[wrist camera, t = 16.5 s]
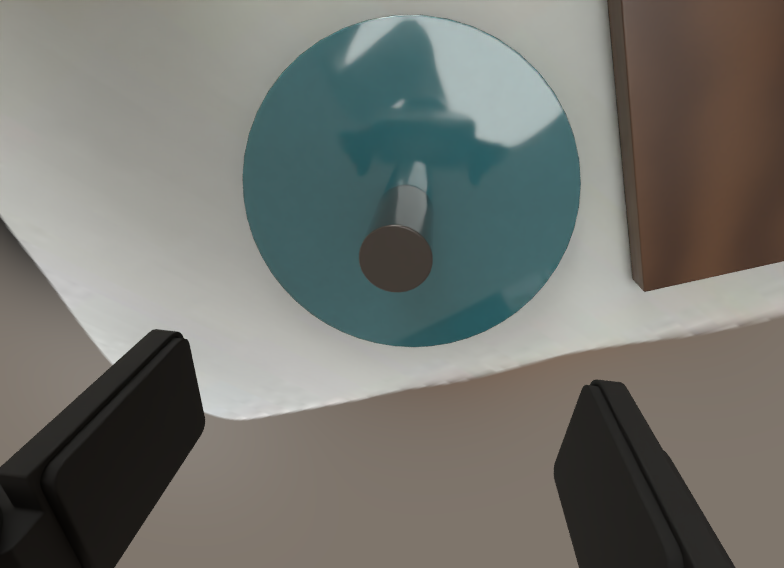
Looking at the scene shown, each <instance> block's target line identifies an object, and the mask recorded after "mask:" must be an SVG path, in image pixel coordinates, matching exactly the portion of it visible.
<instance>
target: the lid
mask: <svg viewBox="0 0 784 568" xmlns="http://www.w3.org/2000/svg"><path fill="white" fill-rule="evenodd" d="M580 186H581V180H580V164H579V157H578V152H577V147H576V142H575V138H574V135H573V132H572V129H571V127H570V124H569V121H568V118H567V116H566V113H565V111H564V110H563V108H562V106H561V104H560V102H559V101H558V99H557V97H556V95H555V93H554V92H553V90H552V89H551V88H550V86H549V85H548V84H547V82H546V81H545V80H544V79H543V77H542V76H541V75H540V73H539V72H538V71H537V70H536V69H535V68H534V67H533V66H532V65H531V64H530V63H529V62H528V61H527V60H526V59H524V58H523V57H522V56H521V55H520V54H519V53H518V52H516V51H515V50H513V49H512V48H511V47H509V46H508V45H506V44H505V43H503V42H502V41H501V40H499V39H498V38H496V37H494V36H492V35H490V34H488V33H485V32H483V31H481V30H479V29H477V28H475V27H473V26H470V25H466V24H463V23H460V22H457V21H453V20H450V19H446V18H439V17H432V16H425V15H393V16H388V17H382V18H376V19H370V20H366V21H363V22H360V23H357V24H354V25H351V26H348V27H345V28H343V29H341V30H339V31H337V32H335V33H333V34H331V35H329V36H327V37H325V38H324V39H322V40H320V41H319V42H317V43H316V44H314V45H313V46H312V47H310V48H309V49H308V50H306V51H305V52H303V53H302V54H301V55H300V56H299V57H298V58H297V59H296V60H295V61H294V62H293V63H292V64H291V65H289V66H288V67H287V68H286V69H285V70H284V71H283V72H282V74H281V75H280V76H279V78H278V79H277V81H276V82H275V83H274V85H273V86H272V87H271V89H270V90H269V91H268V93H267V95H266V97H265V98H264V100H263V102H262V104H261V106H260V108H259V110H258V111H257V114H256V116H255V119H254V122H253V125H252V127H251V130H250V133H249V137H248V141H247V146H246V150H245V155H244V166H243V195H244V203H245V209H246V214H247V219H248V222H249V226H250V229H251V232H252V235H253V238H254V241H255V243H256V245H257V247H258V249H259V252H260V254H261V256H262V258H263V259H264V261H265V263H266V264H267V266H268V268H269V269H270V271H271V273H272V274H273V275H274V277H275V278H276V279H277V281H278V282H279V283H280V284H281V286H282V287H283V288H284V289H285V290H286V291H287V292H288V293H289V294H290V295H291V296H292V298H293V299H294V300H295V301H296V302H298V303H299V304H300V305H301V306H302V307H304V308H305V309H306V310H307V311H308V312H310V313H311V314H312V315H314V316H315V317H317V318H318V319H320V320H321V321H323V322H325V323H326V324H328V325H330V326H332V327H334V328H336V329H338V330H340V331H342V332H344V333H346V334H349V335H352V336H354V337H357V338H359V339H363V340H367V341H370V342H374V343H379V344H385V345H391V346H402V347H424V346H435V345H441V344H448V343H452V342H456V341H459V340H463V339H467V338H469V337H472V336H474V335H477V334H479V333H482V332H484V331H486V330H488V329H490V328H492V327H494V326H496V325H498V324H499V323H501V322H503V321H504V320H506V319H507V318H509V317H510V316H512V315H513V314H514V313H516V312H517V311H518V310H520V309H521V308H522V307H523V306H524V305H525V304H526V303H528V302H529V301H530V300H531V299H532V298H533V297H534V296H535V295H536V294H537V292H538V291H539V290H540V289H541V288H542V287H543V286H544V285H545V283H546V282H547V281H548V279H549V278H550V276H551V275H552V273H553V272H554V270H555V269H556V268H557V266H558V264H559V262H560V260H561V258H562V256H563V254H564V253H565V251H566V249H567V246H568V243H569V241H570V238H571V235H572V232H573V230H574V227H575V222H576V217H577V213H578V208H579V199H580Z"/></svg>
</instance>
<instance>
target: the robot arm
mask: <svg viewBox="0 0 784 568" xmlns="http://www.w3.org/2000/svg"><path fill="white" fill-rule="evenodd" d="M204 426H205V416H204V411H203V407H202V402H201V397H200V392H199V387H198V383H197V378H196V373H195V368H194V363H193V359H192V354H191V349H190V344H189V341H188V340H187V339H184V338H183V335H182V334H181V333H180V332H175V331H167V330H158V329H155V330H152V331H151V332H149V333H148V334H147V335H146V336H145V337H144V338H142V339H141V340H140V341H139V342H138V343H137V344H136V345H135V346H134V347H132V348H131V349H130V350H129V351H128V352H127V353H126V354H125V355H124V356H123V357H121V358H120V359H119V360H118V361H117V362H116V363H115V364H114V365H113V366H111V367H110V368H109V369H108V370H107V371H106V372H105V373H104V374H103V375H102V376H100V377H99V378H98V379H97V380H96V381H95V382H94V383H93V384H92V385H90V386H89V387H88V388H87V389H86V390H85V391H84V392H83V393H82V394H81V395H79V396H78V397H77V398H76V399H75V400H74V401H73V402H72V403H71V404H69V405H68V406H67V407H66V408H65V409H64V410H63V411H62V412H61V413H60V414H59V415H58V416H56V417H55V418H54V419H53V420H52V421H51V422H50V423H49V424H47V425H46V426H45V427H44V428H43V429H42V430H41V431H40V432H39V433H37V435H35V436H34V437H33V438H32V439H31V440H30V441H29V442H28V443H26V444H25V445H24V446H23V447H22V448H21V449H20V450H19V451H18V452H16V453H15V454H14V455H13V456H12V457H11V458H10V459H9V460H8V461H7V462H6V463H5V464H3V465H2V466H1V467H0V568H114V567H115V566H116V564H117V563H118V561H119V560H120V558H121V557H122V555H123V554H124V552H125V551H126V549H127V548H128V546H129V544H130V543H131V541H132V540H133V538H134V537H135V535H136V534H137V532H138V531H139V529H140V528H141V526H142V524H143V523H144V521H145V520H146V518H147V517H148V515H149V514H150V512H151V511H152V509H153V508H154V506H155V505H156V503H157V502H158V500H159V499H160V497H161V495H162V494H163V492H164V491H165V489H166V488H167V486H168V485H169V483H170V482H171V480H172V479H173V477H174V476H175V474H176V472H177V471H178V469H179V468H180V466H181V465H182V463H183V462H184V460H185V459H186V457H187V456H188V454H189V453H190V451H191V450H192V448H193V447H194V445H195V443H196V442H197V440H198V439H199V437H200V436H201V434H202V432H203V430H204ZM554 479H555V483H556V486H557V490H558V493H559V497H560V501H561V505H562V508H563V512H564V515H565V519H566V522H567V526H568V530H569V533H570V537H571V540H572V544H573V547H574V551H575V555H576V558H577V562H578V565H579V568H735V566H734V565H733V563H732V561H731V559H730V558H729V556H728V554H727V553H726V551H725V549H724V548H723V546H722V544H721V543H720V541H719V539H718V538H717V536H716V534H715V532H714V531H713V529H712V528H711V526H710V524H709V522H708V521H707V519H706V517H705V516H704V514H703V512H702V511H701V509H700V507H699V506H698V504H697V502H696V500H695V499H694V497H693V495H692V494H691V492H690V490H689V489H688V487H687V485H686V484H685V482H684V480H683V479H682V477H681V475H680V474H679V472H678V470H677V468H676V467H675V465H674V463H673V462H672V460H671V459H670V457H669V456H668V454H667V453H666V452H665V451H664V450H663V449H662V448H661V446H660V444H659V442H658V441H657V439H656V437H655V436H654V434H653V432H652V430H651V429H650V427H649V425H648V424H647V422H646V420H645V419H644V417H643V415H642V413H641V412H640V410H639V408H638V406H637V405H636V403H635V401H634V400H633V398H632V396H631V394H630V393H629V391H628V390H627V388H626V386H625V385H624V384H623V383H621V382H613V381H604V380H593V381H592V382H591V384H590V385H585V386H583V388H582V390H581V393H580V396H579V399H578V401H577V404H576V407H575V409H574V412H573V415H572V418H571V420H570V423H569V426H568V429H567V431H566V434H565V437H564V439H563V442H562V445H561V448H560V450H559V453H558V456H557V459H556V461H555V465H554Z"/></svg>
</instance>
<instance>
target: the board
mask: <svg viewBox="0 0 784 568" xmlns="http://www.w3.org/2000/svg"><path fill="white" fill-rule="evenodd" d="M608 10H609V21H610V32H611V43H612V54H613V65H614V76H615V87H616V98H617V109H618V120H619V131H620V142H621V153H622V164H623V175H624V186H625V197H626V208H627V220H628V231H629V242H630V253H631V264H632V275H633V280H634V281H635V282H636V283H637V284H638V285H639V287H640V288H641V289H642V290H643V291H644V292H646V291H651V290H655V289H660V288H664V287H669V286H673V285H678V284H682V283H687V282H691V281H696V280H700V279H705V278H709V277H714V276H718V275H723V274H727V273H732V272H737V271H741V270H746V269H750V268H755V267H759V266H764V265H768V264H773V263H777V262H782V261H784V0H608Z"/></svg>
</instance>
